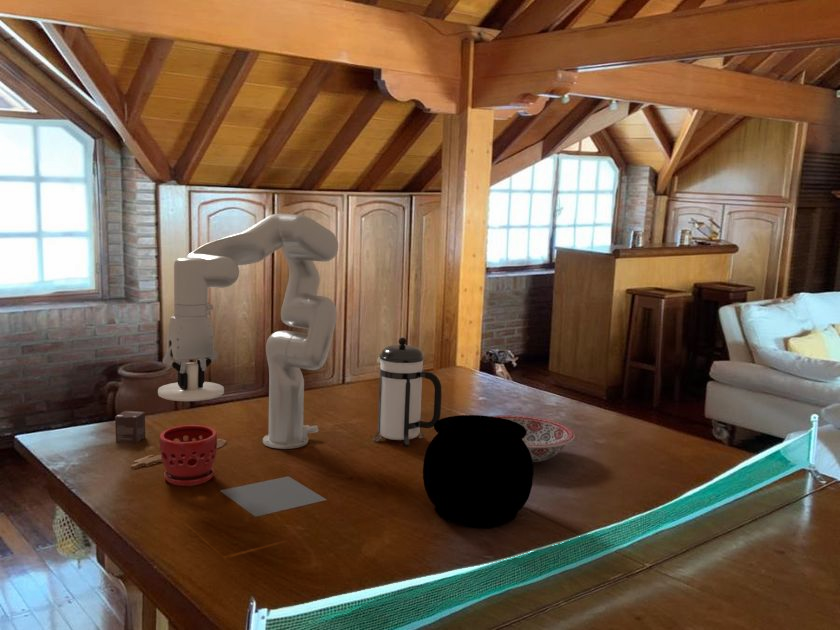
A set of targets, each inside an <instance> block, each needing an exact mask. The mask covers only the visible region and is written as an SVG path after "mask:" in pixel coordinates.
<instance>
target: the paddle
mask: <svg viewBox="0 0 840 630" xmlns="http://www.w3.org/2000/svg"><path fill="white" fill-rule="evenodd" d="M226 444H227V440H225V439H223V438H217V450H219V449H221V448H223V447H224V446H225V445H226ZM161 461H162V457H161V453H160V454H157V455H155V454H149V455H147V456H144V457H141V458H138V459H136V460H134V461H133V462H135V463H133V464H130V469H131V468H137V467H140V466H143V465H144V466H149V465H151V464H153V463H157V462H161ZM149 467H150V466H149ZM140 468H141V467H140ZM137 469H138V468H137Z"/></svg>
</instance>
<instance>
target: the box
mask: <svg viewBox="0 0 840 630" xmlns="http://www.w3.org/2000/svg"><path fill="white" fill-rule="evenodd" d="M114 420H115V421H114V425H115V427H114V428H115V442H116V443H118V442H119V443H134V444H137V443H138V442H140V441H141V440H142V439H144V438H146V412H145V411H133V410H132V411H131V410H124V411H122V412H121V413H118V414H117V415H115V416H114Z"/></svg>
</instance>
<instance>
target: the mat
mask: <svg viewBox="0 0 840 630" xmlns="http://www.w3.org/2000/svg"><path fill="white" fill-rule="evenodd" d="M219 492H220V493H222V494H224V495H225V496H226V497H227V498H229V499H230V500H232V501H233V502H234V503H236V504H237V505H238V506H240V507H242V509H243V510H245V511H246V512H248V513H249V514H250V515H252V516H253V517H255V518H257V517H261V516H264V515H269V514H273V513H278V512H283V511H287V510H291V509H297V508H299V507H303V506H308V505H313V504H316V503H320V502H321V503H322V502H324V501H325V502H326V501H328V499H327V498H326V497H323V496H322V495H320V494H318V493H316V492H315V491H313V489H310V488H308V487H306V486H305V485H303V484H302V483H300V482H298V481H297V480H295V479H293V478H292V477H290V476H283V477H279V478H273V479H268V480H264V481H259V482H253V483H250V484H245V485H241V486H235V487H230V488H225V489H221V490H219Z"/></svg>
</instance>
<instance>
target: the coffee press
mask: <svg viewBox="0 0 840 630" xmlns="http://www.w3.org/2000/svg"><path fill="white" fill-rule="evenodd" d="M424 360H425V355H424V354H423V351H422V350H421V349H420V348H418V347H416V346H412V345H410V344H407V339H406V338H405V337H400V338H399V339H398V344H393V345H387V346H386V347H384V348H383V349H382V350H381V353H379V356H378V358H377V360H376V361H377V363H380V366H379V370H378V371H379V385H378V387H379V388H378V410H377V411H378V412H377V414H378V415H377V431H376V433H375V434H374V436H373V440H374V441H375V442H377V443H378V442H380V441H381V440H382V439H383V438H384V439H388V440H393V441H394V440H395V441H401V442H402V446H403V448H409V447H410V440H412V439H414V438H419V439H420V440H421V438H422V439H423V438H424V436H425V435H424V434H423V432H422V431H421V428H423V429H431V428H434V424H435V423H436V422H437V421H438V420H440V419H441V413H442V412H441V410H442V384H441V381H440V379H439V378H438V377H437V375H436V374H434V373H432V372H429V371H427V372H426V371H424V368H423V367H424V365H423V364H424V363H423V362H424ZM423 379H427V380H428V381H429V380H430V381H431V382H432V384H433V388H434V398H433V400H434V401H433V416H432V419H431V420H430V421H422V418H421V416H422V415H421V414H422V393H423V392H422V391H423ZM419 434H421V435H420V436H419ZM379 435H380V436H379ZM378 436H379V438H378V439H376V438H377V437H378ZM408 446H409V447H408Z"/></svg>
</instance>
